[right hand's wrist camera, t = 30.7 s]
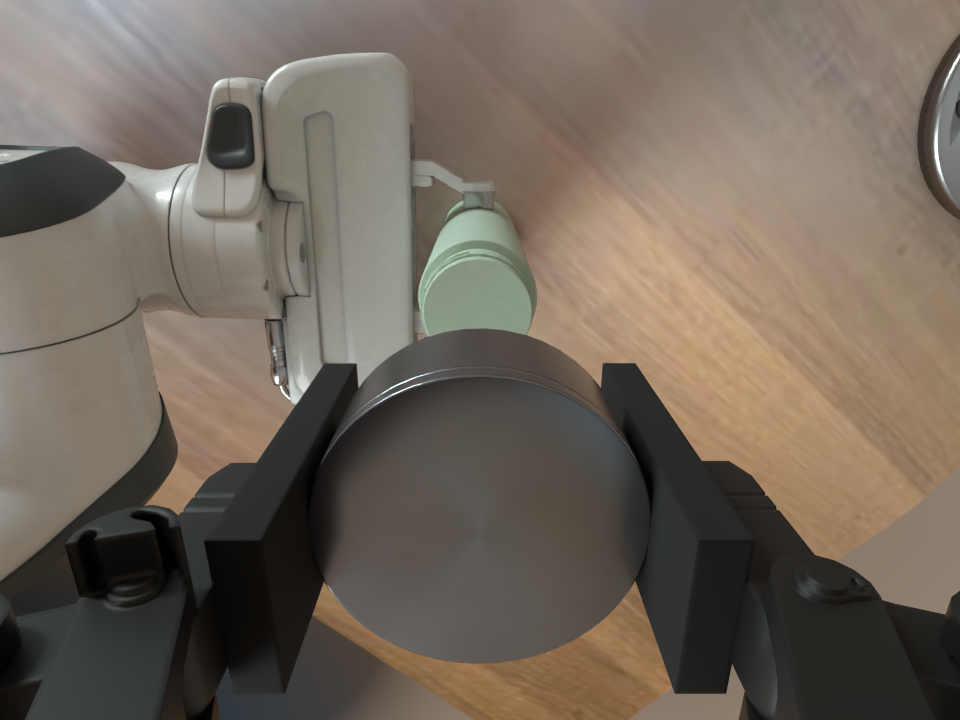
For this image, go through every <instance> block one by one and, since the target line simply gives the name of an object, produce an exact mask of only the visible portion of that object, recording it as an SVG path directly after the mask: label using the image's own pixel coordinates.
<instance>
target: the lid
mask: <svg viewBox="0 0 960 720" xmlns="http://www.w3.org/2000/svg"><path fill="white" fill-rule="evenodd" d="M308 520H309V530H310V538H311V546H312V553H313V556H314V559H315V562H316V566H317V568H318V570H319V572H320V574H321V576H322V578H323V580H324V582H325V584H326V585H327V587H328V588H329V590H330V591H331V592H332V594H333V595H334V597H335V598H336V599H337V601H338V602H339V603H340V604H341V605H342V606H343V607H344V608H345V610H346V611H347V612H348V613H349V614H350V615H351V616H353V617H354V618H355V619H356V620H357V621H358V622H359V623H361V624H362V625H363V626H364V627H366V628H367V629H369V630H370V631H372V632H373V633H375V634H376V635H377V636H379V637H381V638H383V639H385V640H387V641H388V642H390V643H392V644H394V645H396V646H398V647H401V648H403V649H406V650H408V651H411V652H413V653H416V654H420V655H423V656H427V657H430V658H434V659H439V660H445V661H451V662H459V663H472V664H481V663H500V662H508V661H516V660H520V659H524V658H529V657H533V656H536V655H539V654H542V653H545V652H548V651H551V650H554V649H556V648H558V647H560V646H563V645H565V644H567V643H569V642H571V641H573V640H575V639H576V638H578V637H580V636H581V635H583V634H585V633H586V632H588V631H589V630H591V629H592V628H593V627H594V626H596V625H597V624H598V623H600V622H601V621H602V620H603V619H605V618H606V617H607V616H608V615H609V614H610V613H611V612H612V611H613V610H614V609H615V608H616V607H617V606H618V604H619V603H620V602H621V601H622V599H623V598H624V597H625V595H626V594H627V593H628V591H629V590H630V588H631V587H632V585H633V583H634V581H635V580H636V578H637V576H638V575H639V572H640V570H641V567H642V565H643V562H644V560H645V557H646V553H647V549H648V542H649V534H650V525H651V502H650V496H649V492H648V488H647V483H646V480H645V477H644V475H643V473H642V470H641V468H640V465H639V463H638V461H637V459H636V456H635V454H634V453H633V450H632V448H631V446H630V444H629V442H628V440H627V438H626V436H625V434H624V432H623V430H622V428H621V425H620V423H619V421H618V419H617V417H616V415H615V413H614V411H613V409H612V407H611V405H610V403H609V401H608V399H607V398H606V396H605V394H604V393H603V391H602V389H601V388H600V386H599V385H598V384H597V383H596V381H595V380H594V379H593V378H592V377H591V375H590V374H589V373H588V372H587V371H586V370H585V369H584V368H582V367H581V366H580V365H579V364H578V363H577V362H576V361H575V360H573V359H572V358H570V357H569V356H568V355H566V354H565V353H563V352H562V351H560V350H559V349H557V348H555V347H553V346H551V345H549V344H547V343H545V342H543V341H541V340H538V339H535V338H532V337H530V336H527V335H524V334H519V333H515V332H510V331H506V330H497V329H487V328H479V329H461V330H455V331H448V332H443V333H440V334H436V335H433V336H429V337H426V338H424V339H421V340H419V341H417V342H414V343H412V344H410V345H408V346H406V347H404V348H403V349H401V350H399V351H398V352H396V353H394V354H393V355H391V356H390V357H389V358H387V359H386V360H385V361H384V362H382V363H381V364H380V365H379V366H377V367H376V368H375V369H374V370H373V371H372V373H371V374H370V375H369V376H368V377H367V378H366V379H365V380H364V381H363V383H362V384H361V386H360V387H359V388H358V390H357V391H356V393H355V394H354V396H353V398H352V400H351V402H350V404H349V406H348V408H347V410H346V412H345V414H344V416H343V418H342V420H341V422H340V424H339V426H338V428H337V430H336V432H335V434H334V436H333V438H332V441H331V443H330V445H329V447H328V449H327V451H326V453H325V455H324V457H323V459H322V461H321V463H320V465H319V467H318V469H317V471H316V474H315V478H314V481H313V484H312V487H311V490H310V496H309V503H308Z"/></svg>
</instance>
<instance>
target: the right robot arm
mask: <svg viewBox="0 0 960 720" xmlns="http://www.w3.org/2000/svg"><path fill="white" fill-rule="evenodd" d="M918 155H919V161H920V166H921V170H922V173H923V176H924V179H925V181H926V183H927V185H928V188H929V189H930V191H931V193H932V194H933V196H934V197H935V198H936V200H937V201H938V202H939V203H940V204H941V205H942V206H943V207H944V208H945V209H946V210H947V211H948V212H949V213H951V214H952V215H953V216H955V217H956V218H958V219H960V35H959V36H958V38H957V39H956V40H955V41H954V43H953V44H952V45H951V47H950V48H949V50H948V51H947V53H946V54H945V56H944V57H943V59H942V61H941V62H940V64H939V66H938V68H937V69H936V71H935V74H934V76H933V78H932V80H931V82H930V85H929V87H928V90H927V92H926V95H925V98H924V102H923V105H922V109H921V114H920V119H919V127H918ZM358 388H359V387H358V374H357V363H324V365H323V366H322V368H321V369H320V371H319V372H318V373H317V375H316V376H315V378H314V379H313V381H312V382H311V384H310V385H309V387H308V388H307V390H306V391H305V393H304V394H303V396H302V397H301V398H300V400H299V401H298V403H297V404H296V406H295V407H294V409H293V410H292V412H291V413H290V415H289V416H288V418H287V419H286V420H285V422H284V423H283V425H282V426H281V428H280V429H279V431H278V432H277V434H276V435H275V437H274V438H273V440H272V441H271V443H270V444H269V445H268V447H267V448H266V450H265V451H264V453H263V454H262V456H261V457H260V459H259V460H258V462H257V463H230V464H229V465H227V466H226V467H224V468H223V469H221V470H219V471H218V472H216V473H215V474H213V475H212V476H210V477H209V478H208V479H207V480H206V481H205V483H204V484H203V485H202V486H201V488H200V489H199V490H198V492H197V493H196V494H195V498H192V499H191V500H190V502H189V503H188V504H187V505H186V507H185V508H184V512H181V513H180V514H179V515H177V514H176V513H175V512H173V511H172V510H171V509H170V508H165V507H160V506H155V505H151V506H134V507H130V508H126V509H122V510H118V511H114V512H111V513H109V514H106V515H104V516H102V517H99V518H97V519H95V520H92V521H91V522H89V523H88V524H86V525H85V526H83V527H82V528H80V529H79V530H77V531H76V532H75V533H74V534H73V535H72V536H71V537H70V538H69V540H68V541H67V542H66V543H65V544H64V545H65V548H66V552H67V555H68V559H69V562H70V565H71V569H72V572H73V575H74V579H75V582H76V586H77V589H78V592H79V596H80V598H79V600H78V602H77V603H76V604H72V605H68V606H65V607H60V608H56V609H51V610H46V611H42V612H37V613H33V614H28V615H23V616H19V617H15V616H14V613H13V610H12V608H11V605H10V602H9V600H8V599H7V598H6V597H4V596H3V595H2V594H0V720H220V716H219V709H218V702H217V698H216V693H215V692H216V690H217V688H218V686H219V683H220V681H221V679H222V677H223V675H224V673H225V671H226V669H227V667H228V668H229V673H230V678H231V683H232V688H233V693H234V694H285V691H286V689H287V686H288V683H289V680H290V677H291V674H292V671H293V669H294V666H295V663H296V660H297V657H298V654H299V651H300V648H301V646H302V643H303V640H304V637H305V634H306V631H307V628H308V625H309V623H310V620H311V617H312V614H313V611H314V608H315V605H316V603H317V600H318V597H319V594H320V591H321V588H322V585H323V583H324V580H323V578H322V576H321V574H320V572H319V570H318V568H317V566H316V562H315V559H314V556H313V553H312V546H311V538H310V530H309V520H308V503H309V496H310V490H311V487H312V484H313V481H314V478H315V474H316V471H317V469H318V467H319V465H320V463H321V461H322V459H323V457H324V455H325V453H326V451H327V449H328V447H329V445H330V443H331V441H332V438H333V436H334V434H335V432H336V430H337V428H338V426H339V424H340V422H341V420H342V418H343V416H344V414H345V412H346V410H347V408H348V406H349V404H350V402H351V400H352V398H353V396H354V394H355V393H356V391H357V390H358ZM601 389H602V391H603V393H604V394H605V396H606V398H607V399H608V401H609V403H610V405H611V407H612V409H613V411H614V413H615V415H616V417H617V419H618V421H619V423H620V425H621V428H622V430H623V432H624V434H625V436H626V438H627V440H628V442H629V444H630V446H631V448H632V450H633V453H634V454H635V456H636V459H637V461H638V463H639V465H640V468H641V470H642V473H643V475H644V477H645V480H646V483H647V488H648V492H649V496H650V502H651V525H650V534H649V542H648V549H647V553H646V557H645V560H644V562H643V565H642V567H641V570H640V572H639V575H638V576H637V578H636V580H635V581H636V584H637V586H638V589H639V592H640V595H641V598H642V601H643V604H644V607H645V609H646V612H647V615H648V618H649V621H650V624H651V627H652V629H653V632H654V635H655V638H656V641H657V644H658V647H659V649H660V652H661V655H662V658H663V661H664V664H665V667H666V670H667V672H668V675H669V678H670V681H671V684H672V687H673V690H674V692H675V694H726V691H727V686H728V681H729V676H730V671H731V665H732V664H733V666H734V669H735V671H736V673H737V675H738V677H739V679H740V681H741V683H742V685H743V687H744V690H745V693H744V698H743V702H742V707H741V712H740V717H739V720H960V591H959V592H958V593H956V594H955V595H954V596H952V598H951V600H950V603H949V606H948V609H947V612H946V615H944V614H940V613H935V612H931V611H926V610H921V609H917V608H912V607H907V606H903V605H898V604H894V603H890V602H887V601H883V600H882V599H881V597H880V595H879V594H878V592H877V591H876V590H875V588H874V587H873V586H872V584H871V583H870V582H869V581H868V580H866V579H865V578H864V577H863V576H861V575H860V574H859V573H857V572H856V571H855V570H853V569H851V568H849V567H847V566H845V565H843V564H840V563H838V562H836V561H834V560H831V559H827V558H824V557H820V556H816V555H814V553H813V552H812V551H811V550H810V548H809V547H808V546H807V545H806V543H805V542H804V541H803V540H802V538H801V537H800V536H799V535H798V533H797V532H796V531H795V530H794V528H793V527H792V526H791V525H790V523H789V522H788V521H787V520H786V518H785V517H784V516H783V515H782V513H781V512H780V511H779V510H776V506H775V505H774V503H773V502H772V501H771V499H770V498H769V497H768V496H765V492H764V491H763V489H762V488H761V487H760V486H759V484H758V483H757V482H756V481H755V479H754V478H753V477H752V476H751V475H750V474H748V473H747V472H745V471H744V470H742V469H740V468H739V467H737V466H736V465H734V464H733V463H731V462H730V461H701V459H700V458H699V456H698V455H697V453H696V452H695V450H694V449H693V448H692V446H691V445H690V443H689V442H688V440H687V439H686V437H685V436H684V434H683V433H682V431H681V430H680V428H679V427H678V425H677V424H676V423H675V421H674V420H673V418H672V417H671V415H670V414H669V412H668V411H667V409H666V408H665V406H664V405H663V403H662V402H661V400H660V399H659V398H658V396H657V395H656V393H655V392H654V390H653V389H652V387H651V386H650V384H649V383H648V381H647V380H646V378H645V377H644V375H643V374H642V373H641V371H640V370H639V368H638V367H637V365H636V364H635V363H603V369H602V382H601Z"/></svg>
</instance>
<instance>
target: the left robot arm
mask: <svg viewBox="0 0 960 720" xmlns="http://www.w3.org/2000/svg"><path fill="white" fill-rule="evenodd" d="M435 178H437V179H439V180H440V181H442V182H444V183H445V184H447V185H449V186H450V187H452V188H453V189H455V190H457V191H458V192H460V193H462V194H463V209H476V208H477V207H481V208H482V209H494V204H495V181H489V180H464V177H462V176H461V175H459V174H457V173H456V172H454V171H453V170H451V169H449V168H448V167H446V166H445V165H443V164H442V163H440V162H438V161H437V160H435V159H415V113H414V76H413V73H412V71H411V70H410V69H409V67H408V66H407V65H406V64H405V63H404V62H403V61H402V60H401V59H400V58H398V57H397V56H396V55H393V54H390V53H372V52H371V53H350V54H338V55H329V56H321V57H315V58H309V59H303V60H298V61H295V62H291V63H289V64H286V65H284V66H282V67H280V68H279V69H277V70H276V71H275V72H274V73H273V74H272V75H271V76H270V77H269V79H268V80H267V81H264V80H260V79H255V78H247V77H233V78H226V79H221V80H219V81H217V82H216V83H215V85H214V87H213V89H212V92H211V96H210V101H209V107H208V114H207V120H206V126H205V131H204V137H203V143H202V148H201V153H200V158H199V162H198V163H191V164H184V165H180V166H176V167H173V168H170V169H163V170H153V169H147V168H143V167H140V166H137V165H134V164H131V163H126V162H117V161H105V160H103V159H101V158H99V157H97V156H95V155H93V154H91V153H90V152H88V151H86V150H84V149H82V148H80V147H42V146H14V145H0V594H2V595H3V596H4V597H6V598H7V599H8V600H10V599H11V598H12V597H13V596H14V595H16V594H17V593H18V592H19V591H21V590H22V589H23V588H24V587H26V586H27V585H28V584H29V583H31V582H32V581H33V580H34V579H35V578H37V577H38V576H39V575H40V574H42V573H43V572H44V571H45V570H47V569H48V568H49V567H51V566H52V565H53V564H54V563H56V562H57V561H58V560H60V559H61V558H63V557H64V556H66V555H67V552H66V548H65V545H64V544H65V543H66V542H67V541H68V540H69V538H70V537H71V536H72V535H73V534H74V533H75V532H76V531H77V530H79V529H80V528H82V527H83V526H85V525H86V524H88V523H89V522H91V521H92V520H95V519H97V518H99V517H102V516H104V515H106V514H109V513H111V512H114V511H118V510H122V509H126V508H130V507H134V506H144V505H145V504H146V503H147V502H148V501H149V500H150V499H151V498H152V497H153V495H154V494H155V493H156V492H157V491H158V490H159V488H160V487H161V485H162V484H163V482H164V481H165V480H166V478H167V476H168V475H169V473H170V472H171V470H172V468H173V466H174V464H175V462H176V459H177V454H178V445H177V441H176V438H175V435H174V432H173V429H172V426H171V423H170V420H169V417H168V414H167V410H166V407H165V404H164V401H163V398H162V396H161V394H160V392H159V390H158V387H157V382H156V378H155V373H154V369H153V364H152V359H151V355H150V350H149V346H148V341H147V337H146V332H145V328H144V323H143V319H142V315H144V314H148V313H151V312H155V311H161V310H172V311H178V312H182V313H185V314H188V315H191V316H195V317H201V318H239V319H265V327H266V334H267V342H268V346H269V350H270V356H271V365H270V371H271V378H272V381H273V383H274V385H276V386H279V388H280V390H281V392H282V393H283V395H284V396H285V397H286V398H287V399H288V400H290V401H291V402H292V403H293V404H295V405H296V404H297V403H298V401H299V400H300V398H301V397H302V396H303V394H304V393H305V391H306V390H307V388H308V387H309V385H310V384H311V382H312V381H313V379H314V378H315V376H316V375H317V373H318V372H319V371H320V369H321V368H322V366H323V365H324V363H357V374H358V387H360V386H361V384H362V383H363V381H364V380H365V379H366V378H367V377H368V376H369V375H370V374H371V373H372V371H373V370H374V369H375V368H376V367H377V366H379V365H380V364H381V363H382V362H384V361H385V360H386V359H387V358H389V357H390V356H391V355H393V354H394V353H396V352H398V351H399V350H401V349H403V348H404V347H406V346H408V345H410V344H412V343H414V342H417V341H418V333H421V334H426V332H425V329H424V327H423V324H422V321H421V311H420V308H419V302H417V252H416V187H430V186H431V185H432V184H433V183H434V182H435ZM288 383H289V391H288V389H287V387H286V385H287V384H288Z"/></svg>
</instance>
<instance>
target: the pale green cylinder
mask: <svg viewBox="0 0 960 720" xmlns="http://www.w3.org/2000/svg"><path fill="white" fill-rule="evenodd" d="M418 301H419V308H420V311H421V321H422V324H423V327H424V329H425V332H426V335H427V336H428V337H429V336H433V335H436V334H440V333H443V332H448V331H455V330H461V329H479V328H487V329H497V330H506V331H510V332H515V333H519V334H524V335H527V333H528V331H529V328H530V326H531V322H532V319H533V316H534V313H535V309H536V304H537V289H536V284H535V280H534V277H533V274H532V272H531V269H530V266H529V264H528V261H527V259H526V256H525V253H524V251H523V248H522V245H521V243H520V240H519V237H518V235H517V232H516V230H515V227H514V224H513V222H512V219H511V217H510V215H509V213H508V212H507V210H506V209H505V208H504V207H503V206H502V205H501V204H499V203H498V202H496V201H495V204H494V209H482V208H481V207H477V208H476V209H463V200H462V201H461V202H459V203H458V204H456V205H455V206H454V207H453V208H452V209H451V210H450V212H449V213H448V215H447V217H446V219H445V221H444V224H443V226H442V229H441V231H440V234H439V236H438V238H437V241H436V243H435V246H434V248H433V251H432V253H431V256H430V258H429V260H428V263H427V265H426V268H425V270H424V273H423V275H422V278H421V281H420V285H419V292H418Z"/></svg>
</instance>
